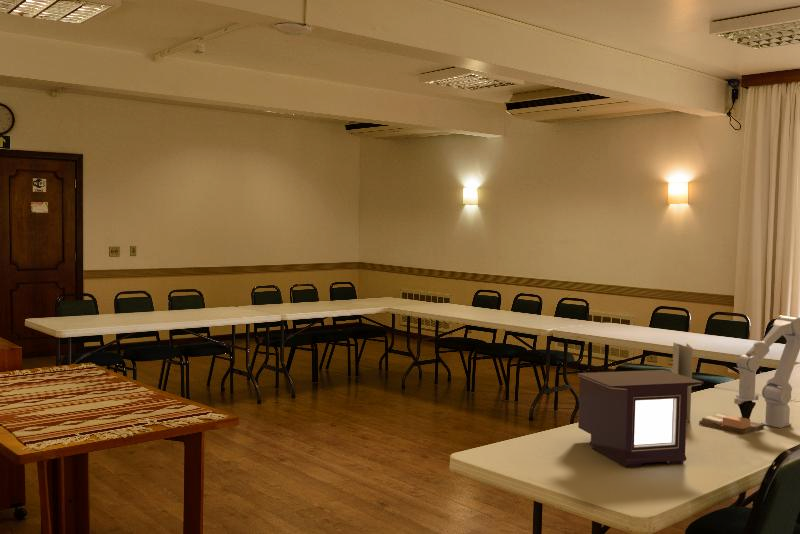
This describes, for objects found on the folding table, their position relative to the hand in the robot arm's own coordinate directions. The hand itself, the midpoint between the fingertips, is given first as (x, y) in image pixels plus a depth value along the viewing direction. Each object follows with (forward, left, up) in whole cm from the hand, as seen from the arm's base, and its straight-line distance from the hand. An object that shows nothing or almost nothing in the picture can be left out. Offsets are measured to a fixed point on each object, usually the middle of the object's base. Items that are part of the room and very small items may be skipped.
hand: (745, 419), depth 309 cm
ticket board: (+3, -4, -3) cm, 6 cm away
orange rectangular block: (+7, 0, -1) cm, 7 cm away
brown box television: (+67, -6, -3) cm, 67 cm away
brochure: (+7, -24, -3) cm, 25 cm away
